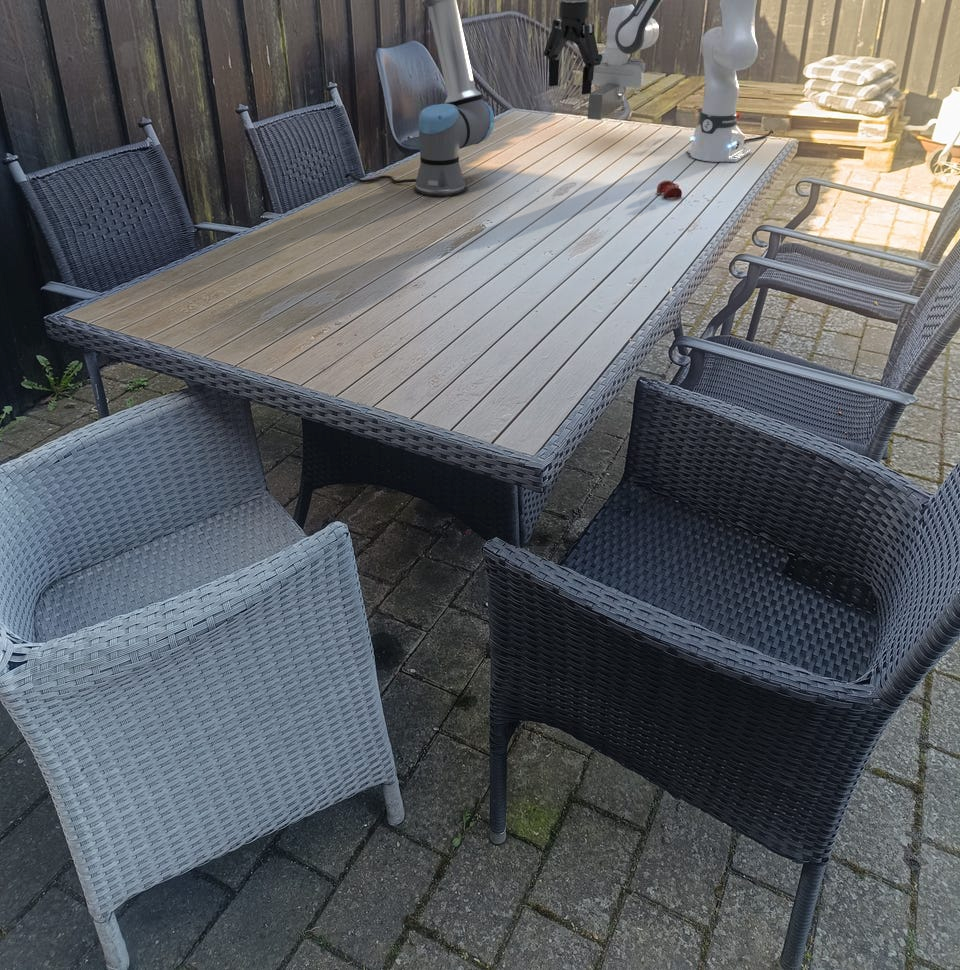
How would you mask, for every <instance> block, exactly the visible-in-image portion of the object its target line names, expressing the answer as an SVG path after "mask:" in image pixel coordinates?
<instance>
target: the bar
mask: <svg viewBox="0 0 960 970" xmlns="http://www.w3.org/2000/svg"><path fill="white" fill-rule="evenodd" d="M623 91H624V90H623V87H620V86H619V85H616V84H606V85H604V86H602V87H600V86H599V88H597V89H595V90H593V91H591V93H590V94H588V95H589V96H588V108H587V120H596V121H601V120H604V118H606V117H608V116H609V115H610V114H612V113H613V112H616V111H617V110H618V109H619V108H621V107H622V105H623V101H621V100H619V95H620V94H622V93H623Z"/></svg>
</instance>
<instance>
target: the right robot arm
mask: <svg viewBox="0 0 960 970" xmlns="http://www.w3.org/2000/svg"><path fill="white" fill-rule="evenodd" d="M663 1H664V0H638V1H637V3H636V4H635V6H634V4H632V3H623V4H622V3H621V4H616V5H614V6H612V7H611V8H610V10H609V12H608V17H607V23H606V42H605V45H604V50H601V51H598V53H599V58H600V65H597V66H595V67H594V74H593V80H592V85H598V86H599V88H600V87H602V86H604V85H606V84H616V85H619V86H620V87H623V93H622V94H620V95H619V100H621V101H622V102H623V101H624V100H625V95H626V93H627V92H628V90H629V89H630V88H631V89H640V88H642V87H643V85H644V80H645V79H644V72H645V70H646V62H645V61H644V60H643V59H642V58H637V57H636V58H635V57H631V54H634V53H636V52H638V51H642V50H644V49H648V48H650V47H652V46H654V45H655V43H657V41H658V39H659V36H660V26H659V23H658V21H657V20H656V19H655V18H654V17H653V16H654V14H655V13H656V11H657V10H658V8H659V7H660V5H661V3H662V2H663ZM757 2H758V0H719V9H720V13H721V26H715V27H711V28H709V29H708V30H706V31H705V33H704V34H703V35H702V37H701V40H700V48H699V49H700V52H701V54H702V57H703V58H702V59H703V71H704V92H703V100H702V106H701V110H700V112H699V116H698V126H696V127H695V128H694V133H693V136H691V137H690V141H692V142H691V146H690V148H688V149H687V153H688V154H689V155H690V157H691V158H692V159H696V160H697V161H698V160H699V161H702V162H703V161H704V162H711V163H712V162H713V163H714V162H715V163H725V162H728V163H730V162H731V163H736V162H738V161H740V160H741V159H743V158H744V157H745V156H748V154H750V149H748V148H747V147H745V146H744V144H745V143H746V142H750V141H756V140H760V139H761V140H762V139H764V138H767V137H769V136H770V135H771V134H774V130H773V129H771V130H770V131H769V132H768V133H767V134H763V135H761V136H757V137H750V138H745V134H744V133H743V132H742V131H741V129H740V128H739V126H738V120H741V118H742V114H743V113H742V112H738V111H737V106H738V100H739V93H740V86H739V83H738V77H737V71H744V70H747V69H748V68H750V67H751V66H752V65H753V64H754V63H755V61H756V59H757V58H758V53H759V46H758V42H757V40H756V9H757ZM594 61H595V60H594Z"/></svg>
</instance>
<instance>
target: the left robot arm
mask: <svg viewBox="0 0 960 970" xmlns="http://www.w3.org/2000/svg"><path fill="white" fill-rule="evenodd" d="M420 2H421V4H422V5H424V6H425V7H427V9H428V15H429V18H430V23H431V28H432V32H433V36H434V41H435V45H436V50H437V54H438V59H439V62H440V66H441V67H440V68H441V71H442V76H443V81H444V85H445V90H446V93H447V94H446V95H447V97H446V98H445V101H444V103H439V104H431V105H428V106H426V107H424V108H423V109H422V110H421V111H420V112H419V114H418V115H419V116H418V126H417V127H418V137H419V138H418V139H419V157H420V158H419V159H420V161H419V162H420V164H419V168H418V172H417V176H416V178H408V179H407V178H406V179H395V178H394V177H393V176H392V175H386V174H385V175H378V176H374V177H371V178H366V179H365V178H363V179H362V178H358V177H357V176H356V175H355V174H354V173H352V172H347V173H346V174H345V175H344V178H345V179H346V178H348V177H351V178H352V179H353V180H354V181H356V182H359V183H372V182H375V181H378V180H382V179H389V180H390V181H391V182H392V183H393V184H405V183H414V184H415V185H414V186H415V192H417V193H418V194H420V195H424V196H430V197H450V196H455V195H459V194H461V193H463V192H464V191H466V181H465V179H464V176H463V172H462V169H461V165H460V149H463V148H467V147H470V146H474V145H475V146H476V145H479V144H480V143H482V142H485V141H486V140H487V139H489V137H490V136H491V134H492V133H493V131H494V128H495V114H494V111H493V109H492V107H491V105H489V103H488V102H486V101H484V99H483V95H482V92H480V91H479V90H478V89H477V88H476V85H475V81H474V76H473V70H472V66H471V62H470V57H469V53H468V47H467V42H466V39H465V34H464V29H463V24H462V20H461V15H460V11H459V6H458V0H420ZM589 4H590V3H589V1H587V0H561V1H560V2H559V16H558V17H559V18H556V19H553V20H552V26H551V27H552V28H551V30H550V33H549V36H548V40H547V42H546V45H545V48H544V51H543V56H544V57H547V60H548V87H555V86H559V74H560V59H559V55H560V54H561V52H562V50H563V49H564V47H565V45H566V44H567V42H569V41H570V42H572V43H574V44H575V45H576V46H577V48H578V50H579V51H578V52H579V53H580V56H581V58H582V60H583V63H584V66H583V67H582V81H581V95H589V94H590V93H592V85H593V84H592V80H593V74H594V67H595V66H597V65H600V58H599V53H598V52H599V49H598V44H597V41H596V40H597V39H596V36H595V25H594V23H591V24H588V23H587V24H586V19H588V17H589V10H590V9H589V8H590V5H589ZM594 60H595V61H594Z"/></svg>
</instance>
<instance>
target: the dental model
mask: <svg viewBox="0 0 960 970" xmlns="http://www.w3.org/2000/svg"><path fill="white" fill-rule="evenodd" d="M656 194H663V195H662V198H663V200H666V199H678V198H682V196H683V191H682V189H681V187H680V185H679V184H677V183H675V182H673V181H672V180H662V181H661V182H660V183H658V185H657V187H656Z"/></svg>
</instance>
